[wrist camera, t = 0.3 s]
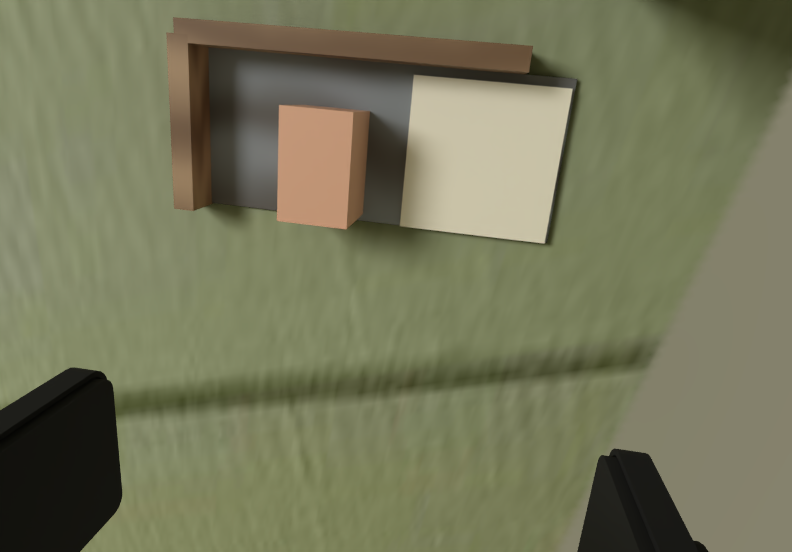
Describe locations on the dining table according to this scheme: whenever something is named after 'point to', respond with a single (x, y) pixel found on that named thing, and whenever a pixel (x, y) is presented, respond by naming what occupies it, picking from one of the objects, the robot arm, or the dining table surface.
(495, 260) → the dining table surface
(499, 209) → the pad
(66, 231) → the dining table surface
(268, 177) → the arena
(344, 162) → the block
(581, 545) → the robot arm
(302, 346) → the dining table surface
